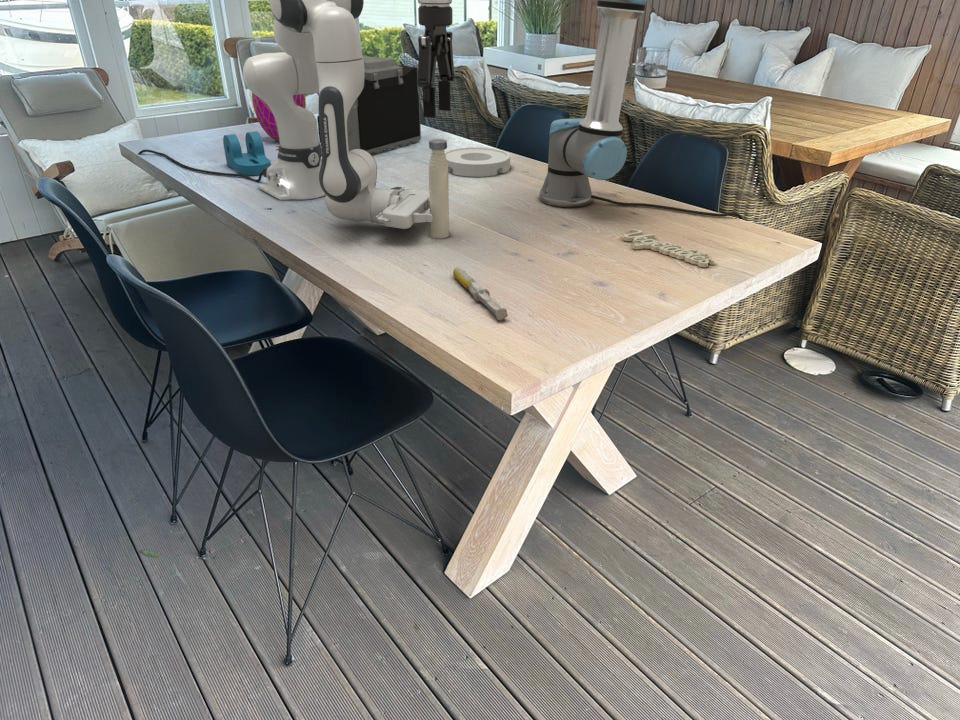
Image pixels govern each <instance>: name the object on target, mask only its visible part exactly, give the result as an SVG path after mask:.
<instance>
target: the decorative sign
mask: <svg viewBox="0 0 960 720" xmlns="http://www.w3.org/2000/svg"><path fill="white" fill-rule="evenodd" d="M622 240H623V241H624V242H625V241H626V242H632V249H633V250H643V249H646V250H647V249H648V250H649V249H650V250H651V251H655V252H658V253H660V254H663V255H665V256H667V255H668V256H669V257H672V258H675V259H676V260H677V259H678V260H684V262H686V263H690V264H692V265H697V266H698V267H700V268H708V267H709V264H710V265H711V266H713V265H714V264H715V259H713V258H710V257H708V255H709V253H708V252H705V251H704V252H698V249H697V248H690V249H689V248H688V249H683V248H682V245H679V244H678V243H672V242H669V241H667V242H660V241H659V240H656V239H655V234H654V233H647V234H646V233H645V234H643V230H640V229H636V228H629V230H628V233H625V234H623V237H622Z"/></svg>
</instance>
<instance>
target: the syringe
mask: <svg viewBox="0 0 960 720" xmlns="http://www.w3.org/2000/svg"><path fill="white" fill-rule="evenodd" d="M452 274H453V277H454V279H455V280H457V281H458V282H459V283H460V285H462V287H464V289H466V290H467V291H468V293H470V295H471V296H472V298H473V300H474V302H477V303H478V302H480V303H482V304H483V305H484V306H485V307H486V308H487V309H488V310H489V311H490V312H491V313H492V314H493V315H494V316H495V317H496V320H497V321H503V320H504V319H506V318H507V317H509V314H508V310H507V308H506V307H502V306H501V305H500V303H498V302H497V301H496V300H494V299H493V298H492V297H491V296H490V295H491V293H490V290H488V289H486V288H483V287H482V286H481V285H480V284H479V283H478V282H477V281H476V280H474V278H473V277H471V275H469V274H468V273H467V272H466V270H465V269H464V268H463V267H462V266H456V267H454V268H453V271H452Z"/></svg>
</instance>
